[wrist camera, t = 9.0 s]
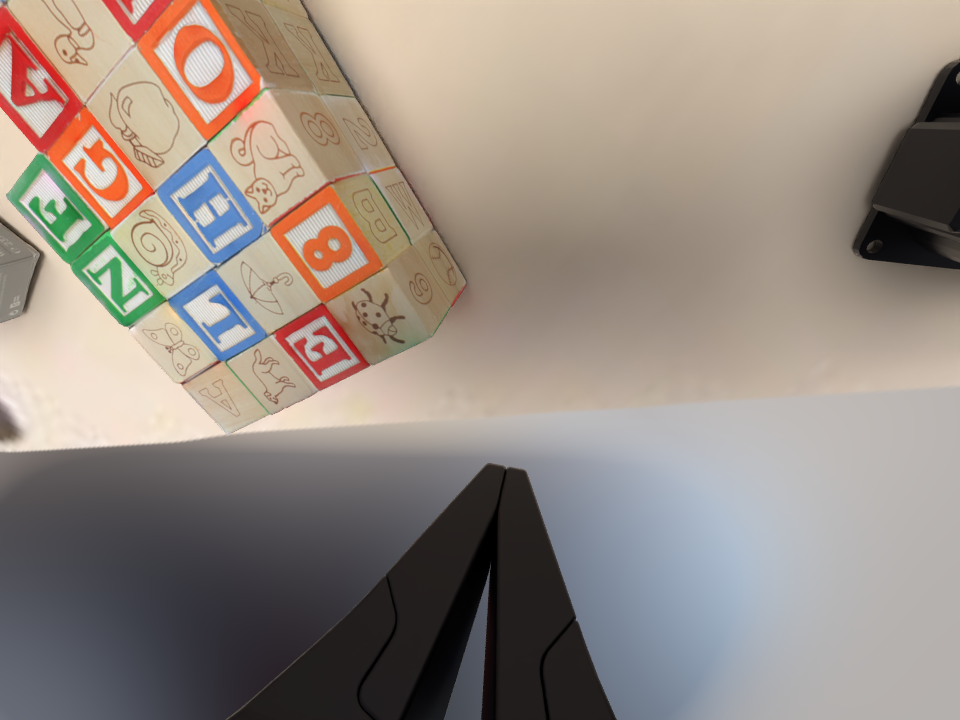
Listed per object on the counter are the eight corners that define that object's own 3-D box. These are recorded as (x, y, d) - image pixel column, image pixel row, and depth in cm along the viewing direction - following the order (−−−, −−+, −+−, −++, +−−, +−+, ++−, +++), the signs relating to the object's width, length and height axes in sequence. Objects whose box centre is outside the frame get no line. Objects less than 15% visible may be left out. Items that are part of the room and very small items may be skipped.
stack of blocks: (134, -293, 14) (-21, -22, 18) (-155, -567, 8) (-267, -81, 13) (469, 286, 21) (297, 372, 26) (434, 343, 16) (224, 439, 20)
